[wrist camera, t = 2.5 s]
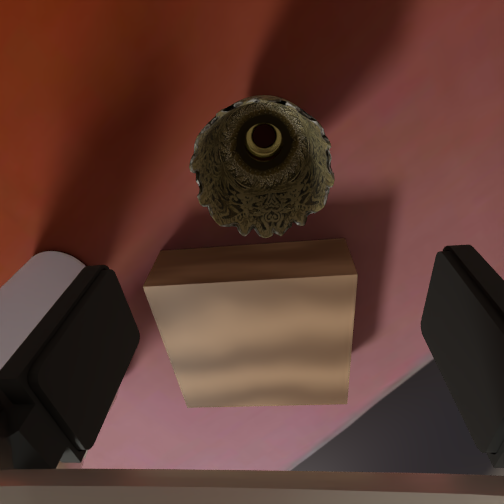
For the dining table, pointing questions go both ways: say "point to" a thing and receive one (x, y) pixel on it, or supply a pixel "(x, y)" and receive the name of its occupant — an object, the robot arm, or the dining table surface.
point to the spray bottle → (32, 296)
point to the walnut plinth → (257, 322)
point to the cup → (262, 166)
